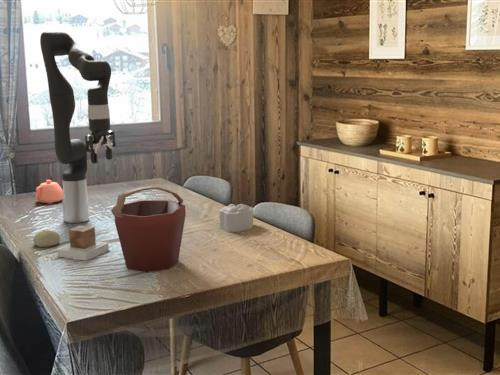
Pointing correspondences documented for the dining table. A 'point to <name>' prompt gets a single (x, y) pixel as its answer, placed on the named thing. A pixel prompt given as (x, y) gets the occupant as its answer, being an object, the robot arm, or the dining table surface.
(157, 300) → the dining table surface
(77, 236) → the walnut cube
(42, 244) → the sea urchin shell
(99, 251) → the tray
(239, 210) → the lumpy-topped squat cylinder
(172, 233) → the bucket
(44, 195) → the sugar bowl
